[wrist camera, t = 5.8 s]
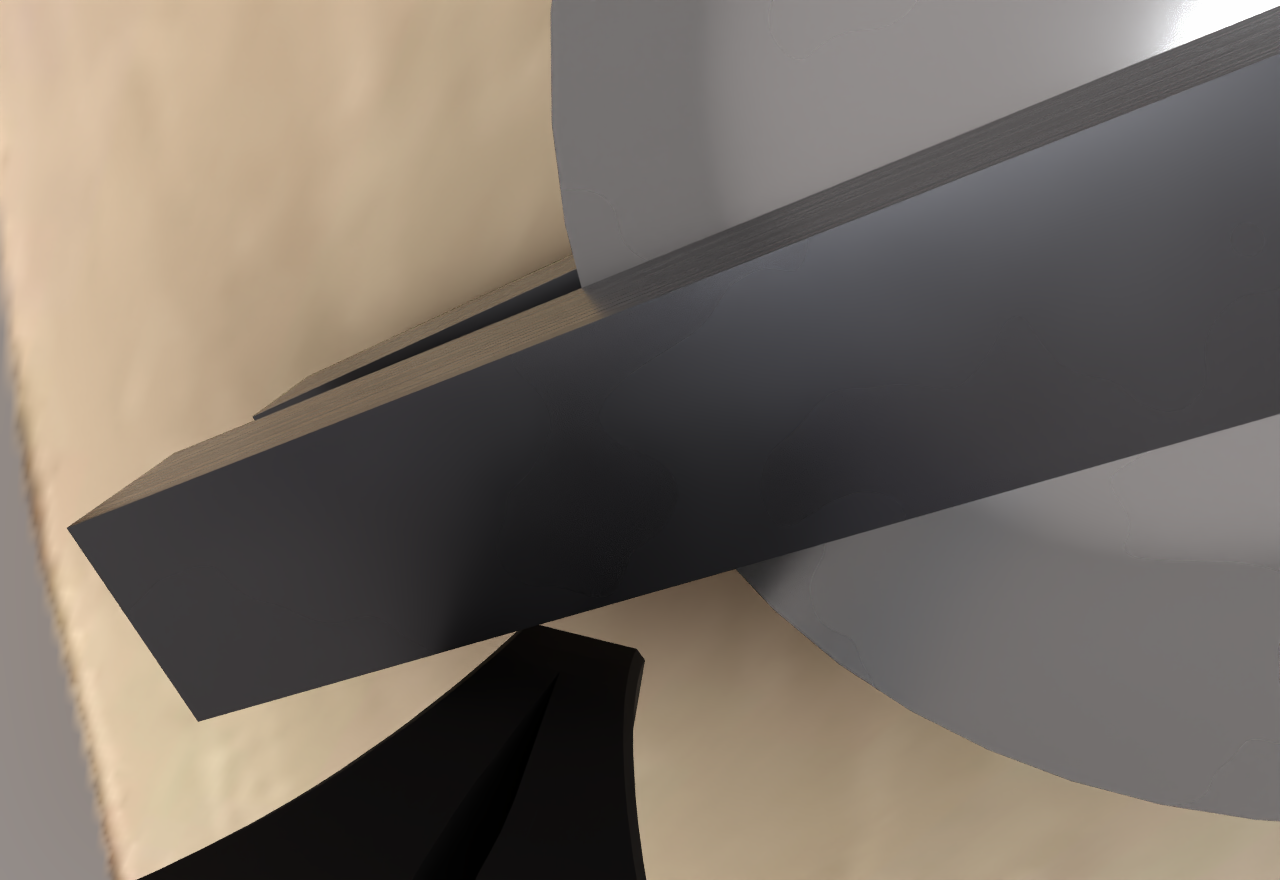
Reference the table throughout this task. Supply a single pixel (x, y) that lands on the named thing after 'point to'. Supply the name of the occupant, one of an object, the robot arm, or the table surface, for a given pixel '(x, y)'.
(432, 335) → the pot
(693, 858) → the table surface
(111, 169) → the table surface
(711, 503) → the lid
